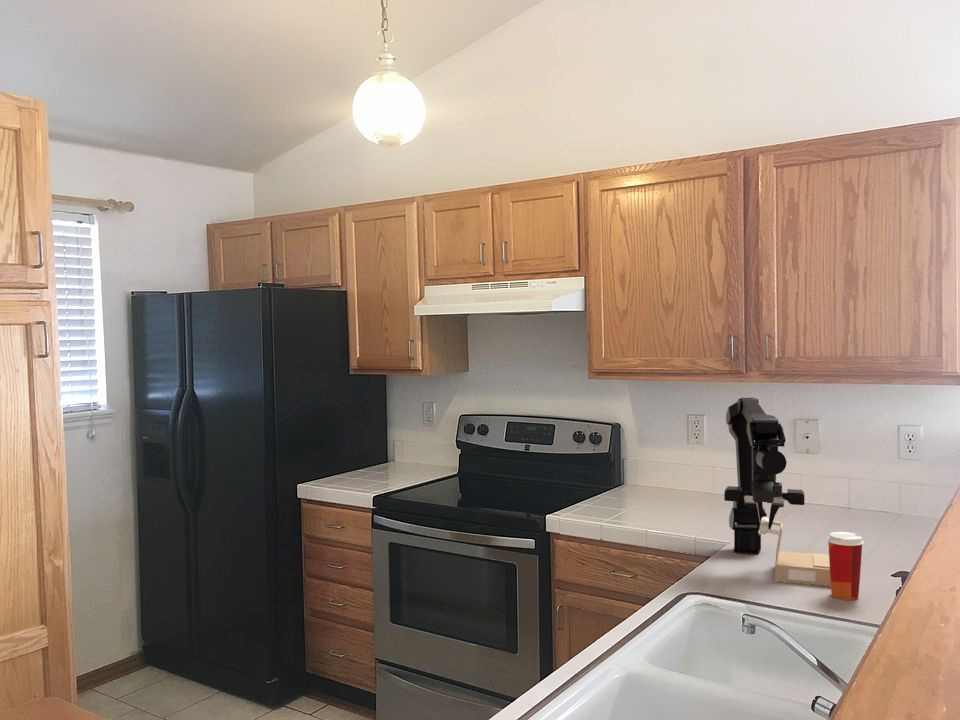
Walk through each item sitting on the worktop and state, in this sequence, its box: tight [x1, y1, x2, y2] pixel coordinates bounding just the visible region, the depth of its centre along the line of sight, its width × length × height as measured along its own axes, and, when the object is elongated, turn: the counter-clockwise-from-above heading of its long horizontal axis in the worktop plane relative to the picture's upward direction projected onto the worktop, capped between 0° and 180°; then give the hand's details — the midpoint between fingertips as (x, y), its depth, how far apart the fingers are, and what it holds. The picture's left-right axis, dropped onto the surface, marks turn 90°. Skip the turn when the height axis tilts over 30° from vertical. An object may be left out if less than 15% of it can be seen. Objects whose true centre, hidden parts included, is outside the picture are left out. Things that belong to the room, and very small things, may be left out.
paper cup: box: [826, 531, 865, 601], centre depth 186 cm, size 8×8×14 cm
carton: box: [774, 550, 831, 587], centre depth 200 cm, size 16×13×4 cm
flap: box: [759, 517, 783, 562], centre depth 204 cm, size 8×11×5 cm
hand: (764, 529), depth 204 cm, fingers closed on flap, 2 cm apart
